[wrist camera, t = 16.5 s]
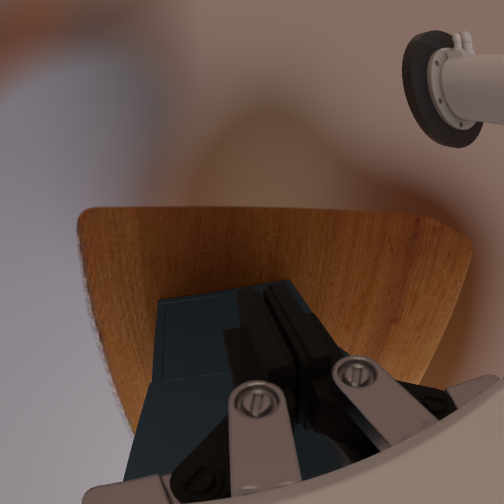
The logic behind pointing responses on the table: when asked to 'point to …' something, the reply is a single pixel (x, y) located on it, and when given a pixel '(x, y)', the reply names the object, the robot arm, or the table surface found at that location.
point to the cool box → (198, 332)
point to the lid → (202, 427)
